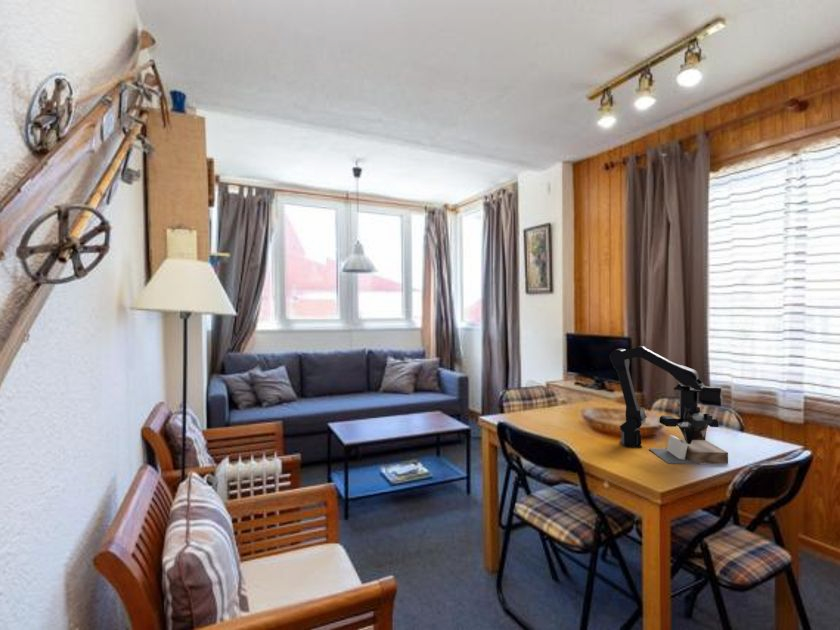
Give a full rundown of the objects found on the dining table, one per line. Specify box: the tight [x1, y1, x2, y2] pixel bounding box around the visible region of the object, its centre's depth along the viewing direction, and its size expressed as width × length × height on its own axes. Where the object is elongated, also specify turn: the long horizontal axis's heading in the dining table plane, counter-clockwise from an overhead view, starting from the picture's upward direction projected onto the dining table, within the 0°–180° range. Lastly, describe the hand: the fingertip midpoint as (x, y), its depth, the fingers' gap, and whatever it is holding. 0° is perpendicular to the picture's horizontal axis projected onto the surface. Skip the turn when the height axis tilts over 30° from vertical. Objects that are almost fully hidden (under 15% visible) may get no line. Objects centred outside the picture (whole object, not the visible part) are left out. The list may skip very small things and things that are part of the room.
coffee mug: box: [692, 424, 709, 440], centre depth 172 cm, size 12×9×10 cm
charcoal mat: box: [648, 448, 701, 465], centre depth 158 cm, size 11×15×1 cm
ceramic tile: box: [666, 434, 688, 460], centre depth 158 cm, size 6×9×2 cm
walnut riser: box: [681, 439, 729, 465], centre depth 158 cm, size 12×14×4 cm
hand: (688, 443), depth 158 cm, fingers closed
